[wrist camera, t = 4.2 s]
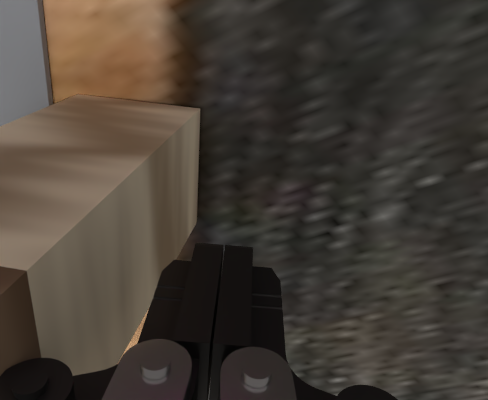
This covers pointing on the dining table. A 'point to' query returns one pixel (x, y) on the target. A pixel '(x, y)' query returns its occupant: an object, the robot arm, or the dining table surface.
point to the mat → (23, 60)
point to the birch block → (90, 224)
